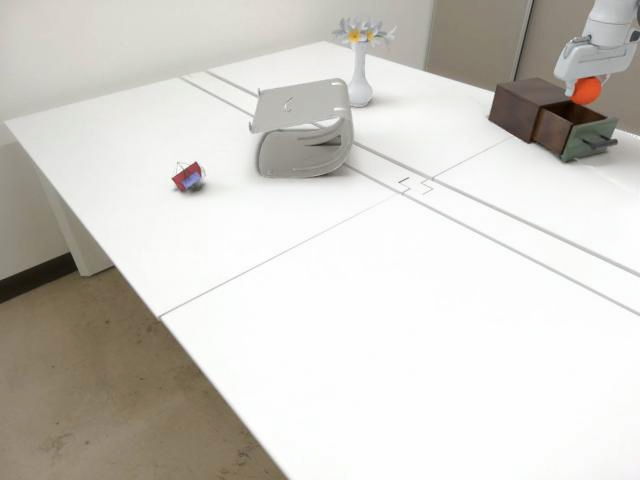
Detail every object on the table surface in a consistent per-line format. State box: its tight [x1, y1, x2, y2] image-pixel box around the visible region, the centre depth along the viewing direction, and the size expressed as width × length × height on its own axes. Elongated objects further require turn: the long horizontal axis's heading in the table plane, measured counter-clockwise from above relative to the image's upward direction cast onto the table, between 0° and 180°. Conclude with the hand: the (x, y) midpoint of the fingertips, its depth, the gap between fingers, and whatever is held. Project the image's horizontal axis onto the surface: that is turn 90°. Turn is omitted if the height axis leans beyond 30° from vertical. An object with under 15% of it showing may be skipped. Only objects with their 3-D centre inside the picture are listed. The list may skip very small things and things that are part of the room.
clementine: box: [570, 76, 602, 106], centre depth 111 cm, size 8×7×7 cm
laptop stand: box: [248, 77, 355, 179], centre depth 114 cm, size 26×24×16 cm
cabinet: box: [487, 76, 573, 145], centre depth 127 cm, size 17×15×11 cm
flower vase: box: [331, 14, 398, 108], centre depth 137 cm, size 13×18×25 cm
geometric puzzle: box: [170, 160, 207, 192], centre depth 104 cm, size 7×7×8 cm
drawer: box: [532, 102, 620, 162], centre depth 116 cm, size 20×13×9 cm
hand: (582, 93), depth 112 cm, fingers closed on clementine, 7 cm apart
